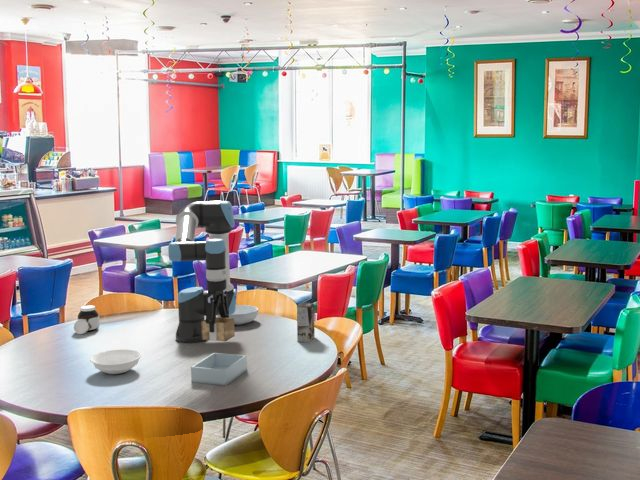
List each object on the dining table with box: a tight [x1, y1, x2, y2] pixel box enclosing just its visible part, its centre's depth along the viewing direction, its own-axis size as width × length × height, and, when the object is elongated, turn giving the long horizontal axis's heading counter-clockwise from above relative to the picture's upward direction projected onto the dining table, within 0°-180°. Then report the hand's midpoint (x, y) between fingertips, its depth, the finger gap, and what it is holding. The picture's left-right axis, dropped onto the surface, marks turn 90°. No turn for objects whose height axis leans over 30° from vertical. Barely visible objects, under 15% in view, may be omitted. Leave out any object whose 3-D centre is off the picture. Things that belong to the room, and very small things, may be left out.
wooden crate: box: [201, 316, 236, 342], centre depth 295 cm, size 10×8×7 cm
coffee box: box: [296, 302, 316, 343], centre depth 346 cm, size 9×6×16 cm
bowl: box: [90, 349, 142, 375], centre depth 304 cm, size 20×20×6 cm
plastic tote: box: [190, 352, 248, 387], centre depth 297 cm, size 14×19×6 cm
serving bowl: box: [216, 304, 259, 326], centre depth 378 cm, size 21×21×7 cm
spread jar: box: [73, 304, 100, 335], centre depth 365 cm, size 12×11×12 cm
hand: (218, 337), depth 295 cm, fingers closed on wooden crate, 8 cm apart
